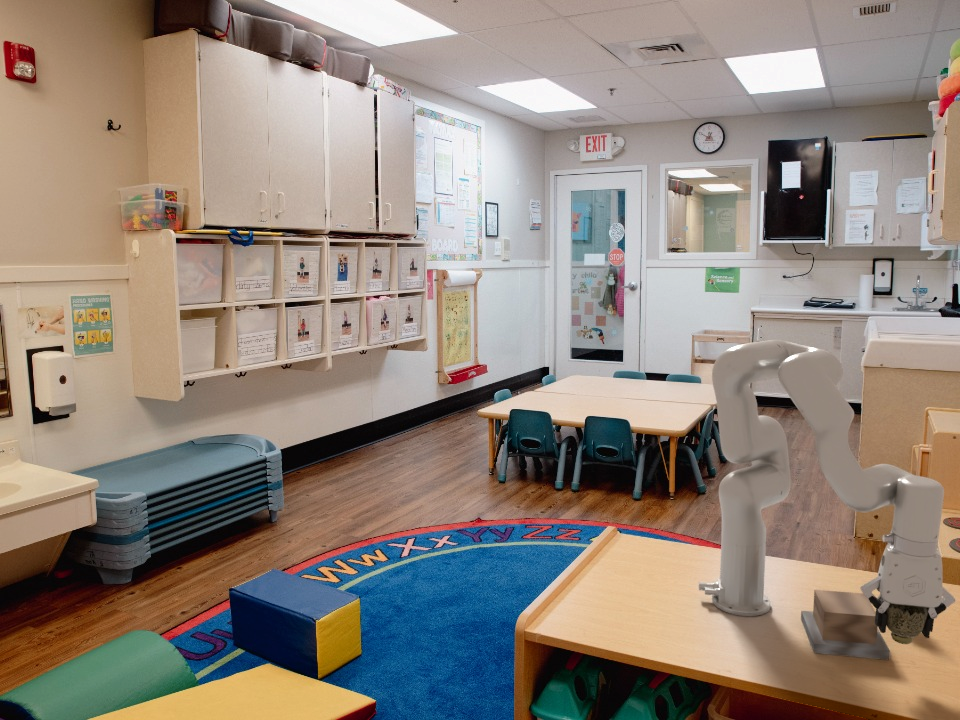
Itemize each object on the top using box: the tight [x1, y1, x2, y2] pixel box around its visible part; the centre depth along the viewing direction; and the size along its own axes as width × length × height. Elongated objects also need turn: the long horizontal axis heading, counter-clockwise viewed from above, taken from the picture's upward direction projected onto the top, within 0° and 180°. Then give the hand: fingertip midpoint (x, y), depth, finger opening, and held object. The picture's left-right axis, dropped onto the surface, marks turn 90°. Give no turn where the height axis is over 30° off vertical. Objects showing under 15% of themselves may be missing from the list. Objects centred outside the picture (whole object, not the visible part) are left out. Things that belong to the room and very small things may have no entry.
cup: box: [886, 604, 929, 645], centre depth 147 cm, size 8×7×8 cm
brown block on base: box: [800, 589, 891, 661], centre depth 162 cm, size 14×14×8 cm
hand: (902, 630), depth 147 cm, fingers closed on cup, 6 cm apart
